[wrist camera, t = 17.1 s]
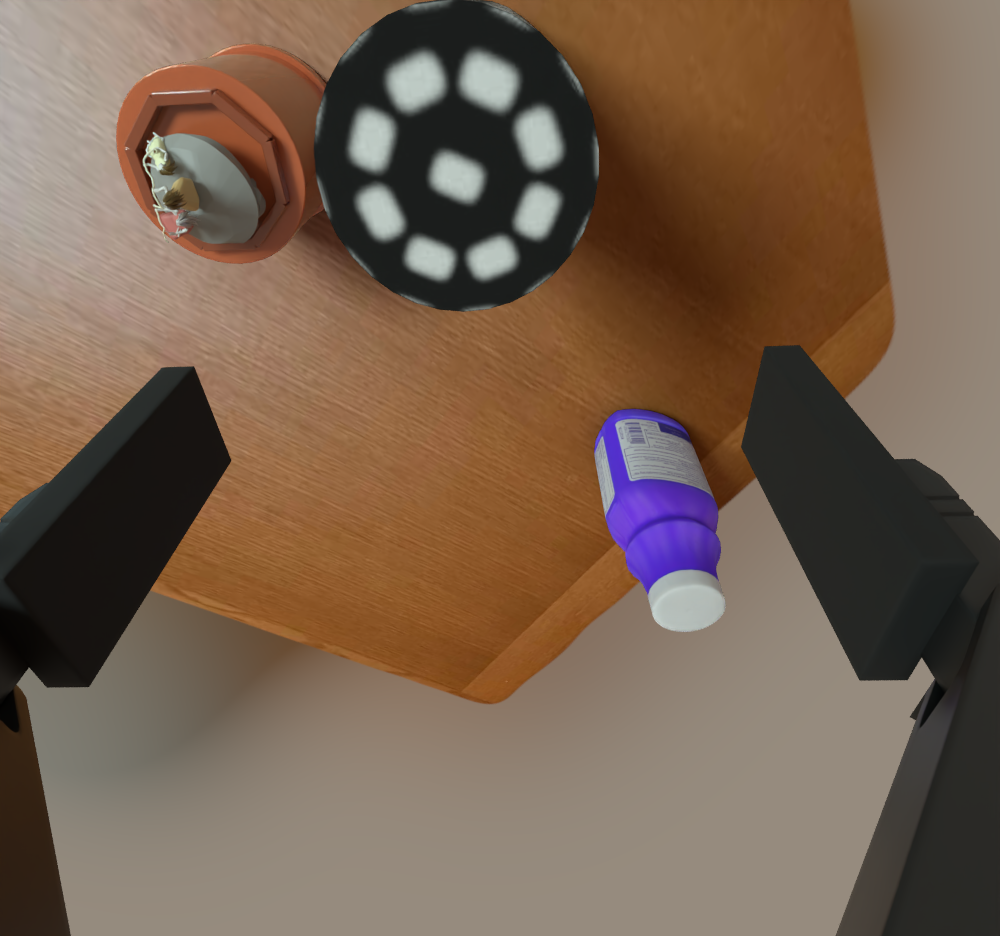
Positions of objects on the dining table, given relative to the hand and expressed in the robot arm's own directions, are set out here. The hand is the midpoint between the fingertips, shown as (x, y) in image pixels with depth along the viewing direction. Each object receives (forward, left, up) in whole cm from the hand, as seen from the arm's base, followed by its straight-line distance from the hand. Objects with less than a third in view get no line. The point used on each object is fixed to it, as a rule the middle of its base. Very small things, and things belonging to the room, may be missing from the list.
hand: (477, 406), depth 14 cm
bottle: (-10, +20, -27) cm, 35 cm away
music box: (+13, -2, -27) cm, 30 cm away
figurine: (+13, -2, -18) cm, 22 cm away
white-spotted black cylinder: (+1, -4, -27) cm, 27 cm away
